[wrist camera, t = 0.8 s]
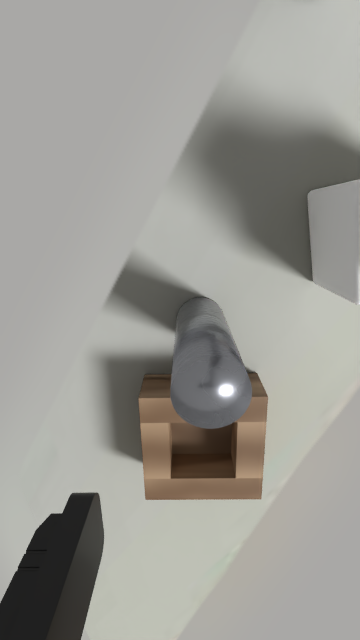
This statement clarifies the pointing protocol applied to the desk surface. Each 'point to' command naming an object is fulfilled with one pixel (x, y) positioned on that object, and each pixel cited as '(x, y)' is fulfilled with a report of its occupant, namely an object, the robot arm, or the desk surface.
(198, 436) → the bore block
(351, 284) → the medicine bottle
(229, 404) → the peg
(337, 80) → the desk surface
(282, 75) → the desk surface
